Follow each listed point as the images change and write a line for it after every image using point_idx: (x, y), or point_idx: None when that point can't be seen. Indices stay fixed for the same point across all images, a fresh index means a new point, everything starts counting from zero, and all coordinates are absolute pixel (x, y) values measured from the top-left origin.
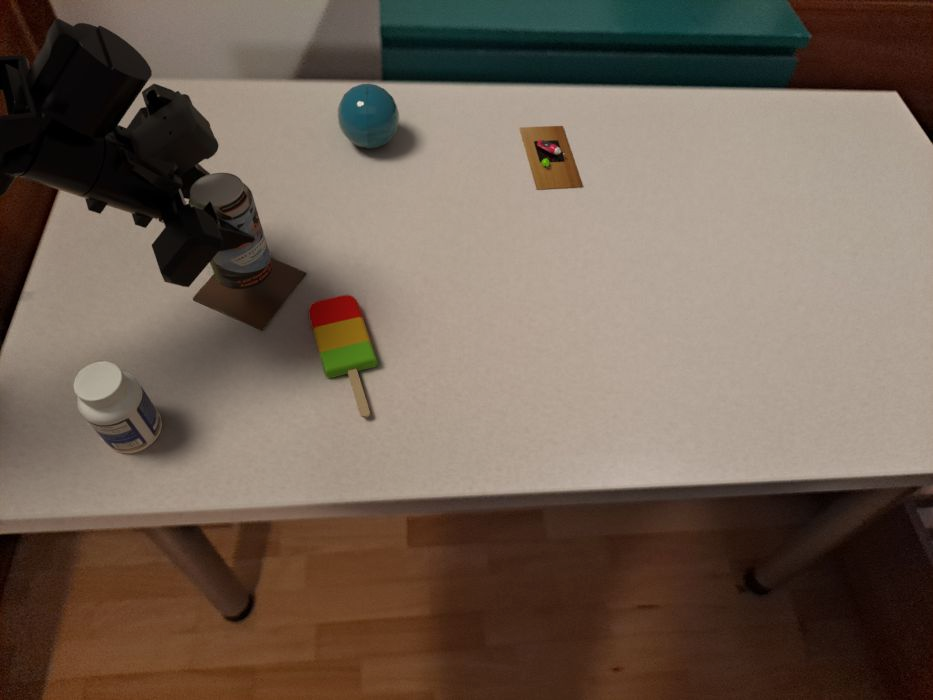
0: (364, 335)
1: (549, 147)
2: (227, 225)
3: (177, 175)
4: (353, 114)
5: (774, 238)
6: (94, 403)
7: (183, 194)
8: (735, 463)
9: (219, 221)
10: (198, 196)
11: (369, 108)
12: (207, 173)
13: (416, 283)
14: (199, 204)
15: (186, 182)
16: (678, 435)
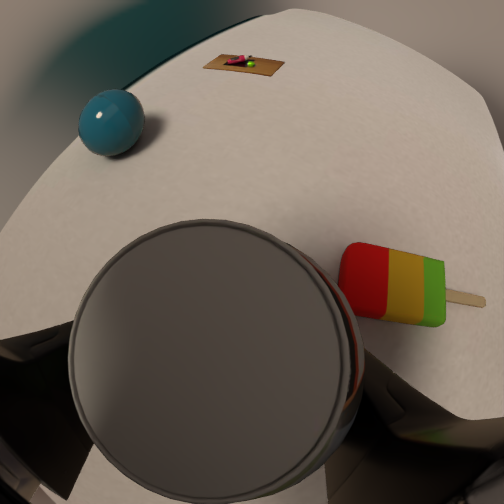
0: (416, 257)
1: (240, 58)
2: (388, 390)
3: (27, 437)
4: (105, 119)
5: (362, 45)
6: None
7: (86, 437)
8: (493, 131)
9: (413, 421)
10: (190, 472)
11: (116, 101)
12: (56, 333)
13: (339, 180)
14: (257, 492)
15: (58, 419)
16: (484, 136)
